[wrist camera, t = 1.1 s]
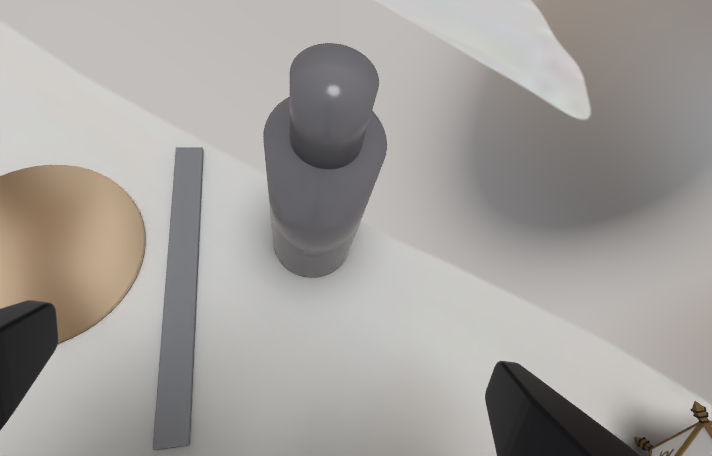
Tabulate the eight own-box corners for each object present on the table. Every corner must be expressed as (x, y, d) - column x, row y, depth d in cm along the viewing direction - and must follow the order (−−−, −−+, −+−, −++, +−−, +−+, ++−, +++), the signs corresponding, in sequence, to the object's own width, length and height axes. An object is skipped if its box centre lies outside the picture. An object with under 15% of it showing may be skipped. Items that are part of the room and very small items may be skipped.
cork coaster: (-4, 399, 18) (-10, 399, 18) (-116, 247, 20) (-123, 244, 20) (184, 256, 22) (182, 253, 22) (76, 138, 24) (72, 134, 24)
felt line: (189, 444, 19) (188, 445, 19) (154, 448, 19) (152, 449, 18) (203, 150, 25) (202, 147, 25) (177, 150, 25) (176, 147, 24)
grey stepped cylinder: (310, 293, 22) (334, 168, 11) (257, 238, 23) (224, 66, 12) (365, 242, 24) (437, 86, 12) (313, 193, 25) (335, 1, 13)
